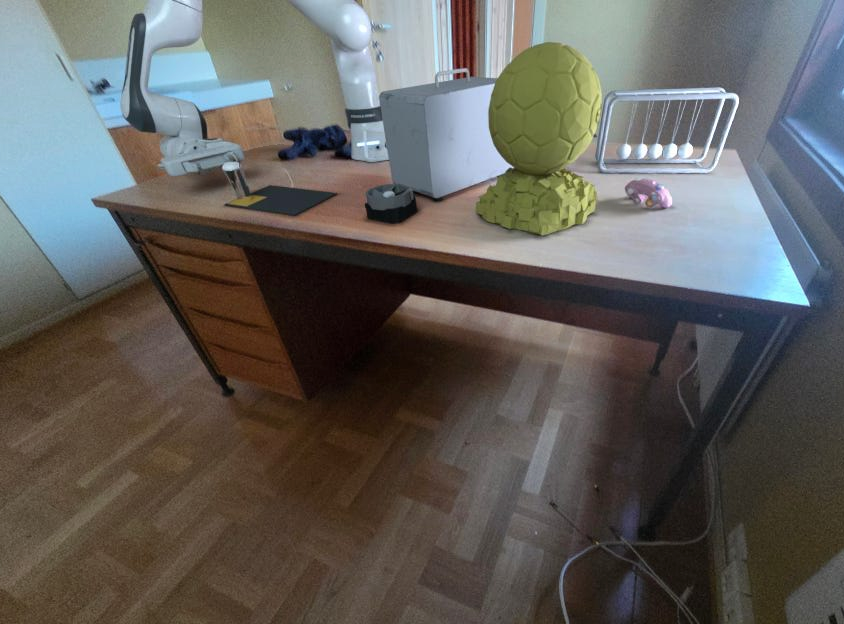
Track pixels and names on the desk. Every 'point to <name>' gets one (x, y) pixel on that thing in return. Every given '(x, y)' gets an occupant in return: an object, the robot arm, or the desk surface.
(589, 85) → the trophy
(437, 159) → the vintage electronic device
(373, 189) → the cpu cooler
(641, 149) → the newton's cradle
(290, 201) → the desk mat
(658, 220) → the desk surface
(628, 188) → the video game controller
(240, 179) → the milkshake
